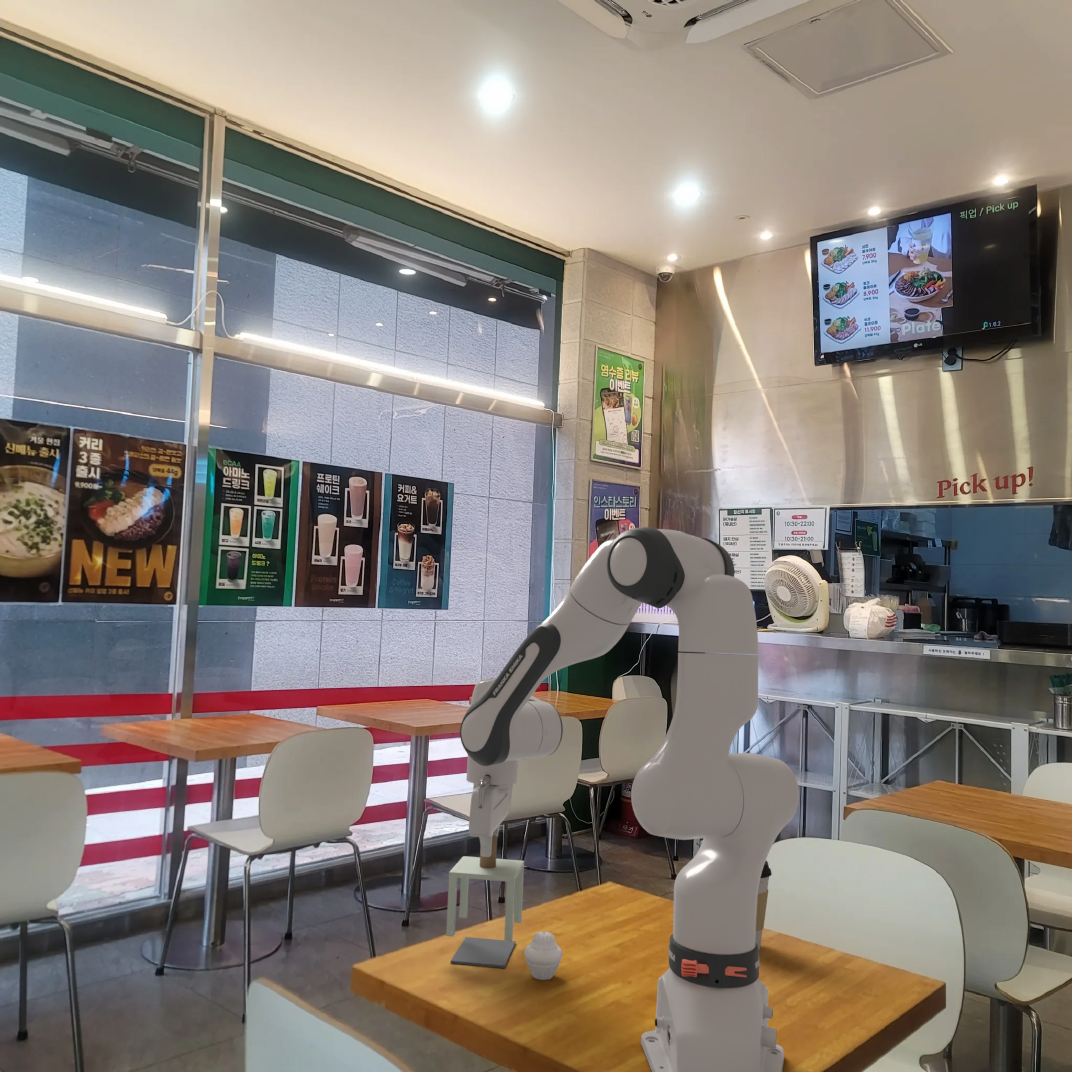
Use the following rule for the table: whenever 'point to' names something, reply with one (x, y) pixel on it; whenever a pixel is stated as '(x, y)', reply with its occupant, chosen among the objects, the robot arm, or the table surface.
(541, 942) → the muffin
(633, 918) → the table surface
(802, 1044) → the table surface
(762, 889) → the coffee cup
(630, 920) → the table surface
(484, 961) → the mat
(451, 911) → the cover
